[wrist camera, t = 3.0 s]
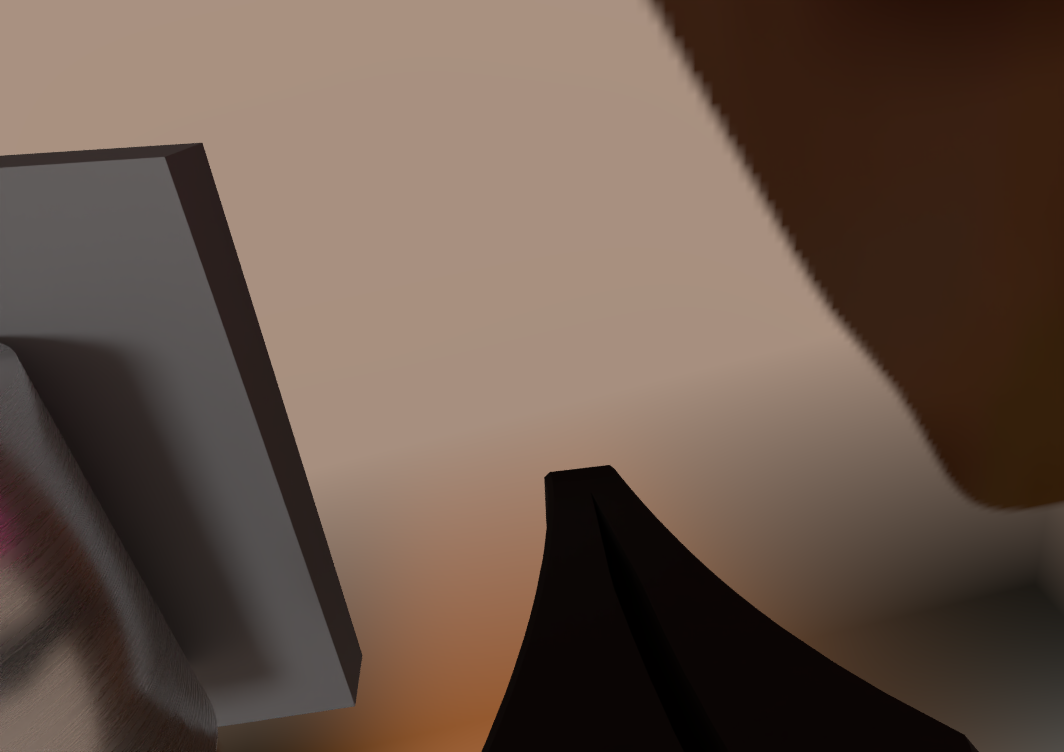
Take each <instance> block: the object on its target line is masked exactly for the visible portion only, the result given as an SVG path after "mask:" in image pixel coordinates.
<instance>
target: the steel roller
mask: <svg viewBox="0 0 1064 752" xmlns="http://www.w3.org/2000/svg"><path fill="white" fill-rule="evenodd" d="M217 738H218V730H217V719H216V715H215V710H214V708H213V706H212V704H211V701H210V699H209V697H208V696H207V694H206V692H205V690H204V689H203V687H202V685H201V683H200V681H199V680H198V678H197V676H196V674H195V672H194V671H193V669H192V667H191V665H190V664H189V662H188V660H187V658H186V656H185V655H184V653H183V651H182V649H181V647H180V646H179V644H178V642H177V640H176V639H175V637H174V635H173V633H172V631H171V630H170V628H169V626H168V624H167V622H166V621H165V619H164V617H163V615H162V614H161V612H160V610H159V608H158V606H157V605H156V603H155V601H154V599H153V597H152V596H151V594H150V592H149V590H148V589H147V587H146V585H145V583H144V581H143V580H142V578H141V576H140V574H139V573H138V571H137V569H136V567H135V565H134V564H133V562H132V560H131V558H130V556H129V555H128V553H127V551H126V549H125V548H124V546H123V544H122V542H121V540H120V539H119V537H118V535H117V533H116V531H115V530H114V528H113V526H112V524H111V523H110V521H109V519H108V517H107V515H106V514H105V512H104V510H103V508H102V506H101V505H100V503H99V501H98V499H97V498H96V496H95V494H94V492H93V490H92V489H91V487H90V485H89V483H88V481H87V480H86V478H85V476H84V474H83V473H82V471H81V469H80V467H79V465H78V464H77V462H76V460H75V458H74V457H73V455H72V453H71V451H70V449H69V448H68V446H67V444H66V442H65V440H64V439H63V437H62V435H61V433H60V432H59V430H58V428H57V426H56V424H55V423H54V421H53V419H52V417H51V415H50V414H49V412H48V410H47V408H46V407H45V405H44V403H43V401H42V399H41V398H40V396H39V394H38V392H37V390H36V389H35V387H34V385H33V383H32V382H31V380H30V378H29V376H28V374H27V373H26V371H25V369H24V367H23V366H22V364H21V362H20V360H19V358H18V357H17V355H16V353H15V352H14V351H13V350H12V349H11V348H10V347H8V346H6V345H4V344H2V343H0V752H216V747H217Z"/></svg>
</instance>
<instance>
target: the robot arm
mask: <svg viewBox="0 0 1064 752" xmlns="http://www.w3.org/2000/svg"><path fill="white" fill-rule="evenodd" d="M544 479H545V501H546V523H547V530H546V539H545V547H544V554H543V561H542V566H541V570H540V575H539V581H538V586H537V591H536V595H535V599H534V603H533V607H532V611H531V615H530V619H529V622H528V626H527V629H526V633H525V636H524V640H523V643H522V646H521V649H520V652H519V655H518V658H517V661H516V664H515V667H514V670H513V673H512V676H511V679H510V682H509V685H508V687H507V690H506V693H505V695H504V698H503V701H502V703H501V705H500V708H499V710H498V713H497V716H496V718H495V720H494V723H493V725H492V728H491V730H490V733H489V736H488V738H487V740H486V743H485V745H484V747H483V749H482V752H978V750H977V749H976V748H975V747H974V746H973V745H972V743H971V742H970V741H969V740H968V739H967V737H966V736H965V735H964V734H962V733H960V732H958V731H956V730H954V729H952V728H950V727H949V726H947V725H945V724H943V723H941V722H939V721H937V720H935V719H933V718H932V717H930V716H928V715H926V714H924V713H922V712H920V711H918V710H916V709H914V708H913V707H911V706H909V705H907V704H905V703H903V702H901V701H899V700H897V699H896V698H894V697H892V696H890V695H888V694H886V693H885V692H883V691H881V690H879V689H878V688H876V687H874V686H872V685H871V684H869V683H868V682H866V681H864V680H863V679H861V678H859V677H858V676H856V675H854V674H852V673H851V672H849V671H847V670H846V669H844V668H842V667H841V666H839V665H837V664H836V663H834V662H833V661H831V660H830V659H828V658H827V657H825V656H824V655H822V654H821V653H819V652H818V651H816V650H815V649H813V648H812V647H810V646H809V645H807V644H806V643H804V642H803V641H801V640H800V639H798V638H797V637H795V636H794V635H792V634H791V633H789V632H788V631H786V630H785V629H783V628H782V627H780V626H779V625H778V624H776V623H775V622H774V621H772V620H771V619H770V618H768V617H767V616H766V615H764V614H763V613H762V612H760V611H759V610H757V609H756V608H755V607H754V606H753V605H751V604H750V603H749V602H747V601H746V600H745V599H744V598H742V597H741V596H740V595H739V594H737V593H736V592H735V591H734V590H733V589H731V588H730V587H729V586H728V585H727V584H725V583H724V582H723V581H722V580H721V579H720V578H718V577H717V576H716V575H715V574H714V573H713V572H712V571H710V570H709V569H708V568H707V567H706V566H705V565H704V564H703V563H702V562H700V560H698V559H697V558H696V557H695V556H694V555H693V554H692V553H691V552H690V551H689V550H688V549H687V548H686V547H685V546H684V545H683V544H682V543H681V542H680V541H679V540H678V539H677V538H676V537H675V536H674V535H673V534H672V533H671V532H670V531H669V530H668V529H667V528H666V527H665V526H664V525H663V524H662V523H661V522H660V521H659V520H658V519H657V518H656V517H655V516H654V515H653V513H652V512H651V511H650V510H649V509H648V508H647V507H646V506H645V505H644V504H643V502H642V501H641V500H640V499H639V498H638V497H637V495H636V494H635V493H634V492H633V491H632V490H631V488H630V487H629V486H628V485H627V484H626V483H625V481H624V480H623V479H622V478H621V476H620V475H619V474H618V473H617V471H616V470H615V469H614V468H613V467H611V466H610V465H606V466H597V467H589V468H580V469H572V470H564V471H556V472H550V473H548V474H547V475H546V476H545V477H544Z"/></svg>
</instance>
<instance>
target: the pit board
mask: <svg viewBox="0 0 1064 752" xmlns="http://www.w3.org/2000/svg"><path fill="white" fill-rule="evenodd" d="M0 343H2V344H4V345H6V346H8V347H10V348H11V349H12V350H13V351H14V352H15V353H16V355H17V357H18V358H19V360H20V362H21V364H22V366H23V367H24V369H25V371H26V373H27V374H28V376H29V378H30V380H31V382H32V383H33V385H34V387H35V389H36V390H37V392H38V394H39V396H40V398H41V399H42V401H43V403H44V405H45V407H46V408H47V410H48V412H49V414H50V415H51V417H52V419H53V421H54V423H55V424H56V426H57V428H58V430H59V432H60V433H61V435H62V437H63V439H64V440H65V442H66V444H67V446H68V448H69V449H70V451H71V453H72V455H73V457H74V458H75V460H76V462H77V464H78V465H79V467H80V469H81V471H82V473H83V474H84V476H85V478H86V480H87V481H88V483H89V485H90V487H91V489H92V490H93V492H94V494H95V496H96V498H97V499H98V501H99V503H100V505H101V506H102V508H103V510H104V512H105V514H106V515H107V517H108V519H109V521H110V523H111V524H112V526H113V528H114V530H115V531H116V533H117V535H118V537H119V539H120V540H121V542H122V544H123V546H124V548H125V549H126V551H127V553H128V555H129V556H130V558H131V560H132V562H133V564H134V565H135V567H136V569H137V571H138V573H139V574H140V576H141V578H142V580H143V581H144V583H145V585H146V587H147V589H148V590H149V592H150V594H151V596H152V597H153V599H154V601H155V603H156V605H157V606H158V608H159V610H160V612H161V614H162V615H163V617H164V619H165V621H166V622H167V624H168V626H169V628H170V630H171V631H172V633H173V635H174V637H175V639H176V640H177V642H178V644H179V646H180V647H181V649H182V651H183V653H184V655H185V656H186V658H187V660H188V662H189V664H190V665H191V667H192V669H193V671H194V672H195V674H196V676H197V678H198V680H199V681H200V683H201V685H202V687H203V689H204V690H205V692H206V694H207V696H208V697H209V699H210V701H211V704H212V706H213V708H214V710H215V715H216V719H217V727H220V726H226V725H233V724H239V723H246V722H253V721H260V720H266V719H272V718H280V717H286V716H293V715H299V714H306V713H313V712H319V711H325V710H333V709H339V708H346V707H352V706H355V703H356V696H357V689H358V681H359V675H360V667H361V660H362V653H361V650H360V647H359V643H358V640H357V637H356V634H355V631H354V627H353V624H352V621H351V618H350V615H349V612H348V608H347V605H346V602H345V599H344V595H343V592H342V589H341V586H340V583H339V580H338V576H337V573H336V570H335V567H334V563H333V560H332V557H331V554H330V550H329V547H328V544H327V541H326V538H325V534H324V531H323V528H322V525H321V522H320V518H319V516H318V512H317V509H316V506H315V503H314V500H313V496H312V493H311V490H310V486H309V483H308V480H307V477H306V474H305V470H304V467H303V464H302V461H301V458H300V454H299V451H298V448H297V445H296V442H295V438H294V435H293V432H292V429H291V425H290V422H289V419H288V416H287V413H286V410H285V406H284V403H283V400H282V397H281V393H280V390H279V387H278V384H277V381H276V377H275V374H274V371H273V368H272V365H271V361H270V358H269V355H268V352H267V349H266V345H265V342H264V339H263V336H262V333H261V330H260V326H259V323H258V320H257V317H256V314H255V310H254V307H253V304H252V300H251V297H250V294H249V291H248V288H247V284H246V281H245V278H244V275H243V272H242V269H241V265H240V262H239V259H238V256H237V252H236V249H235V246H234V243H233V240H232V236H231V233H230V230H229V227H228V224H227V220H226V217H225V214H224V211H223V208H222V205H221V201H220V198H219V195H218V191H217V188H216V185H215V182H214V179H213V176H212V173H211V169H210V166H209V163H208V160H207V156H206V153H205V150H204V147H203V143H192V144H178V145H177V144H176V145H160V146H146V147H131V148H130V147H129V148H114V149H98V150H83V151H67V152H52V153H37V154H22V155H5V156H0Z"/></svg>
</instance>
